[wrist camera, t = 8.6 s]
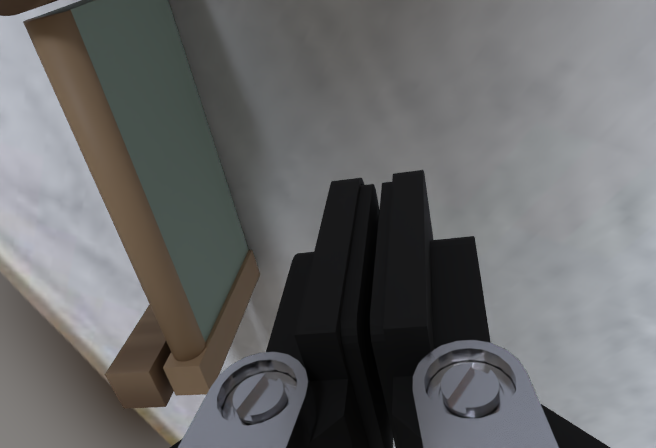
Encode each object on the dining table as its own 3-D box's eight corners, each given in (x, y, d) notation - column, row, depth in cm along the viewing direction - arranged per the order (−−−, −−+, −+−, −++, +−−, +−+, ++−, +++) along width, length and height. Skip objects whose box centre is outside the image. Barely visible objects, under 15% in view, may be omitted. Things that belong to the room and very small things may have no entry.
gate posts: (92, -111, 23) (-86, -102, 15) (163, -118, 22) (18, -113, 14) (191, 277, 32) (115, 408, 24) (242, 277, 32) (181, 412, 24)
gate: (129, -19, 24) (4, 27, 17) (164, -26, 23) (51, 17, 16) (232, 276, 31) (175, 395, 24) (260, 274, 31) (210, 394, 24)
